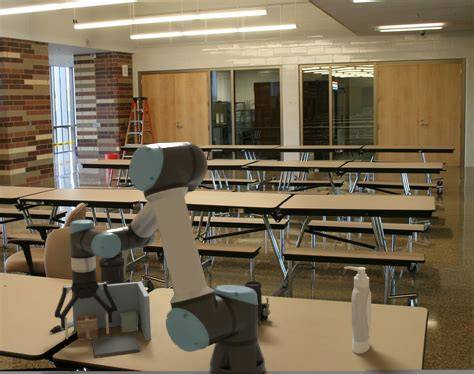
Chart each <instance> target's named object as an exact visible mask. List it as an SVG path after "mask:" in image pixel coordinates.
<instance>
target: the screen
mask: <svg viewBox="0 0 474 374" xmlns="http://www.w3.org/2000/svg"><path fill="white" fill-rule="evenodd" d="M107 288H108V291H109V293H110V295H111V297H112V299H113V301H114V303H115V305H116V307H117V311H114V312H112V323H109V328H112V327H114V328H115V327H121V320H120V313H123V312H132V311H136V314H137V318H138V325H139V327H140V329H141V332H142V333H143V335H144V339H145V340H146V341H149V340H152V334H151V333H152V332H151V331H152V330H151V329H152V328H151V327H152V326H151V310H150V309H151V307H150V306H151V305H150V295H149V292H148V291H147V289H146V288H145V285H144V283H143V281H134V282H132V281H131V282H124V283H120V284H110V285H107ZM96 293H97V294H98V295H99V296H100V297H101V298H102V300H103V301H104V302H105V303H106V304H107V305H108V306H109V307H110V308H111V307H112V306H111V304H110V302H109V300H108V298H107V296H106V294H105V292H104V290H101V288H100V287H99V288H98V289H97V291H96ZM73 295H74V293H73V291H72V290H71V298H72V297H73ZM105 312H107V311H106V310H105V309H104V308H103V307H102V306H101V305H100V304H99V302H98V301H97V300H96V299H95V298H94V297H93V296H92V297H91V298H84V299H80V298H78V300H77V301H76V302H75V303H74V305H73V306H72V319H73V324H74V325H73V332H77V316H82V315H91V314H96V318H97V329H102V328H103V329H104V328H105V329H106V322H105Z"/></svg>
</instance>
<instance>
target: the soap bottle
mask: <svg viewBox="0 0 474 374" xmlns="http://www.w3.org/2000/svg"><path fill="white" fill-rule="evenodd" d="M343 269H344V270H345V269H346V270H348V269H349V270H351V271H352V270H353V271H356V272H357V274H356V275H355V276H354V277H353V290H352V292H351V312H350V313H351V314H350V315H351V317H350V318H351V327H352V328H351V329H352V342H351V350H352V352H353V353H355V354H357V355H360V354H365V353H366V352H368V351H369V350H370V348H371V341H370V340H371V337H370V331H371V330H370V329H371V324H372V292H371V289H370V277H368V276H367V273H366V267H364V266H359V267H357V266H344V268H343Z"/></svg>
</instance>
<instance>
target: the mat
mask: <svg viewBox="0 0 474 374" xmlns="http://www.w3.org/2000/svg"><path fill="white" fill-rule="evenodd" d="M91 345H92V349H94V350H93V354H94V355H93V356H94V358H98V357H97V356H101V357H106V356H107V357H108V356H115V355H121V354H122V355H123V354H131V353H139V352H140V347H139V344H138V342H137V339H136V336H135V333H132V334H131V333H130V334H123V335H113V336H106V337H98V338H94V339H91Z"/></svg>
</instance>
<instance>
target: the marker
mask: <svg viewBox="0 0 474 374" xmlns="http://www.w3.org/2000/svg"><path fill="white" fill-rule="evenodd" d="M67 324H68V328H70V327H74V324H73V318H72V319H70V320H67ZM60 330H61V331H63V330H65V328H62V327H61V323H59V324H58V325H55V326H54V327H53V328H51V329H50V330H49V333H58V332H61V331H60Z"/></svg>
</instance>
